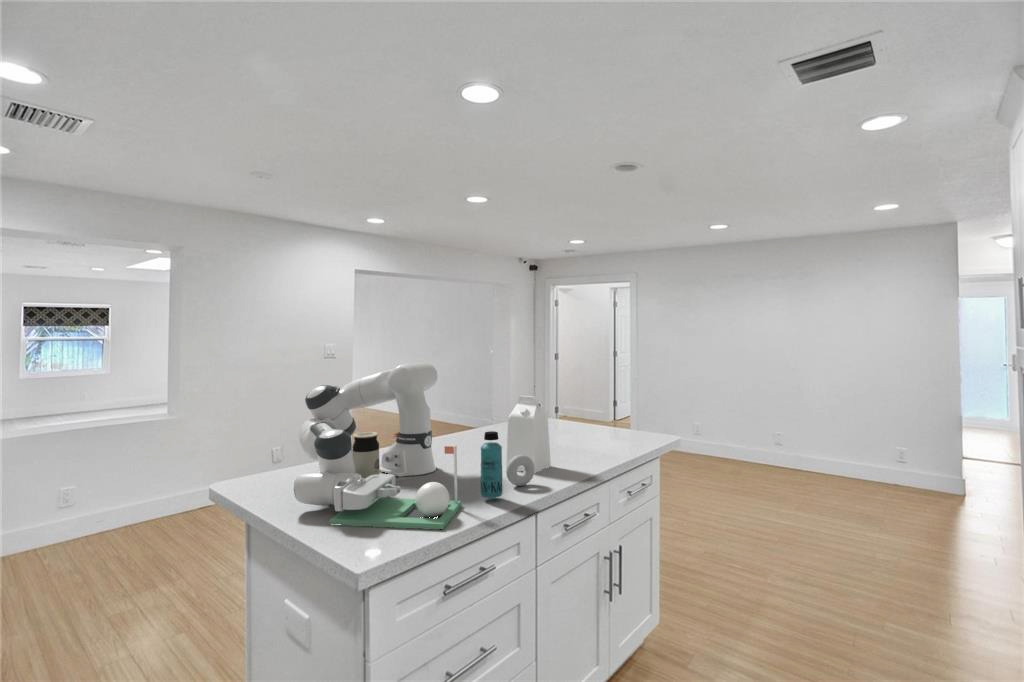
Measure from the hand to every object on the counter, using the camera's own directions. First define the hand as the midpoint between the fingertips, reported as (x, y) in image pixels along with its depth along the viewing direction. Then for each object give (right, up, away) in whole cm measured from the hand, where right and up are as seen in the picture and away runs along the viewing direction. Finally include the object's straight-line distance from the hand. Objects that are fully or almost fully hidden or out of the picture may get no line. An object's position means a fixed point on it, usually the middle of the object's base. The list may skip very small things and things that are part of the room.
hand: (398, 491), depth 137 cm
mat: (0, -7, 0) cm, 7 cm away
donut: (+34, -6, +25) cm, 42 cm away
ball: (+10, -2, -2) cm, 10 cm away
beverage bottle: (+25, -6, +11) cm, 28 cm away
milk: (+37, -6, +47) cm, 60 cm away
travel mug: (-15, -7, +22) cm, 28 cm away
